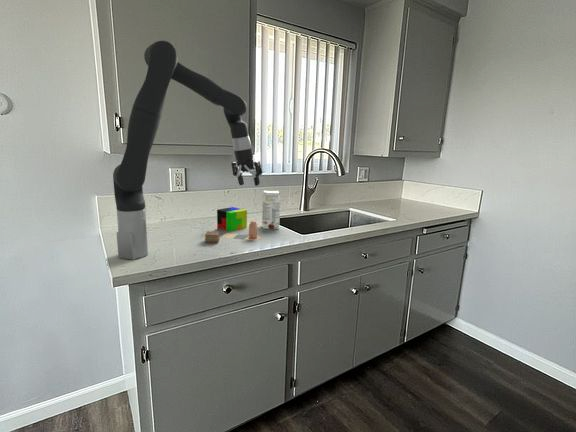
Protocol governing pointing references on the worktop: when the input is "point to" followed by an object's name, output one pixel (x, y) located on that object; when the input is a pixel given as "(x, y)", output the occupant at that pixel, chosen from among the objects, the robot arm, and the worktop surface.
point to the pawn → (253, 230)
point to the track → (228, 235)
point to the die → (212, 237)
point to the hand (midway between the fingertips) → (249, 185)
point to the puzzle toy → (231, 218)
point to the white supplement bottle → (271, 209)
